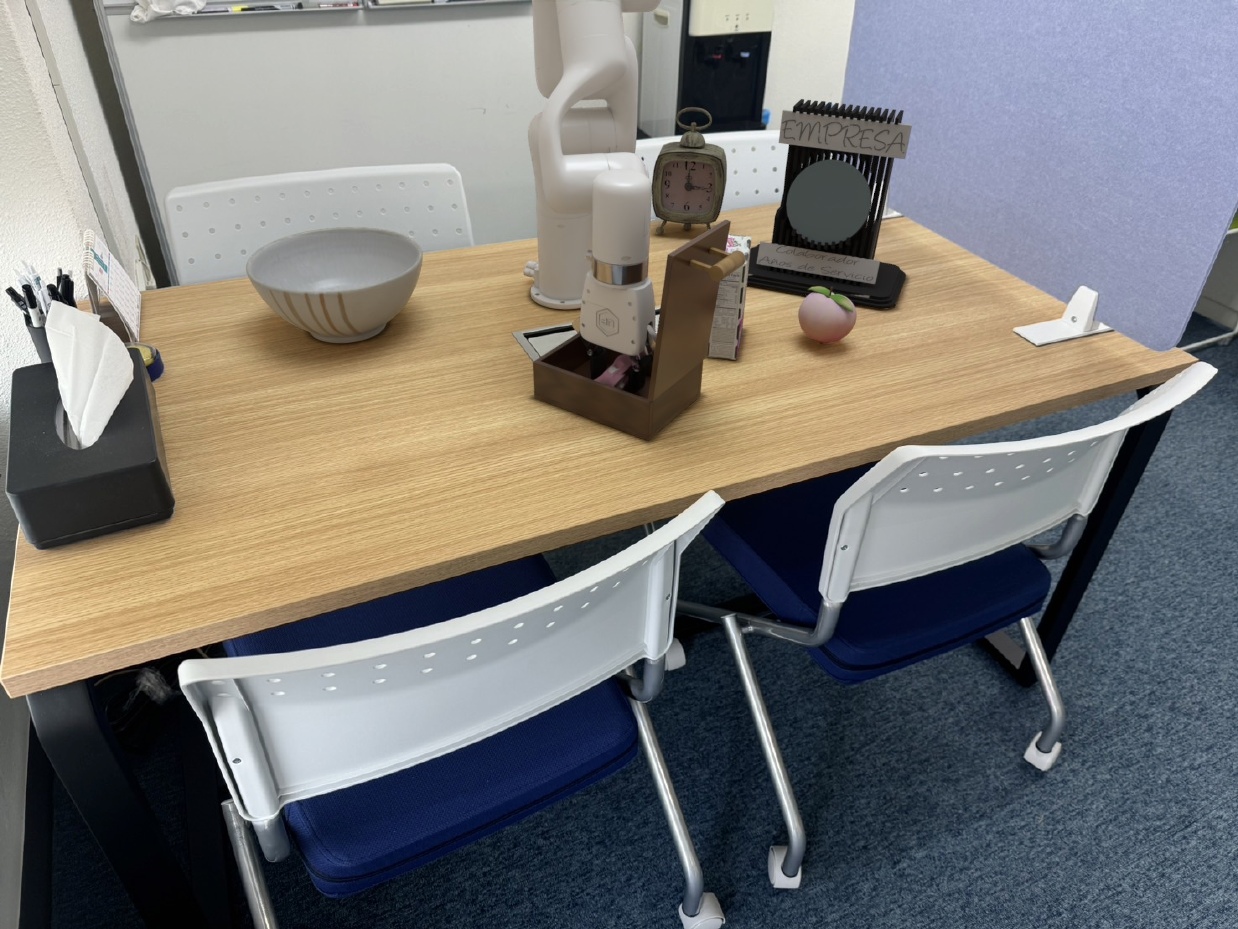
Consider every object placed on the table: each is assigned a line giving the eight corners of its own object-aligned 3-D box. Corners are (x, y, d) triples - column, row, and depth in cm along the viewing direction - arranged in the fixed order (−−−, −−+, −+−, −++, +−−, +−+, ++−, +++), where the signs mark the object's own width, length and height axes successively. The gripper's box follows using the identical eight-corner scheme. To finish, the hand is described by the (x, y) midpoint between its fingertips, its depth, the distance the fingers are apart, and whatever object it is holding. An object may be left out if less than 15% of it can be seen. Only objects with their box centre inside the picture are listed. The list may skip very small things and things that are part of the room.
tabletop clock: (649, 237, 179) (654, 110, 164) (655, 222, 186) (660, 99, 171) (719, 243, 177) (731, 115, 162) (722, 227, 184) (733, 103, 170)
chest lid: (667, 254, 101) (709, 269, 99) (725, 219, 111) (764, 232, 109) (647, 399, 114) (684, 415, 111) (701, 356, 124) (736, 370, 121)
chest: (534, 398, 126) (532, 361, 122) (591, 358, 136) (591, 324, 132) (648, 441, 117) (650, 403, 114) (700, 395, 127) (703, 359, 124)
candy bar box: (713, 327, 146) (721, 232, 136) (742, 330, 145) (753, 235, 135) (705, 358, 137) (713, 259, 127) (736, 361, 136) (747, 262, 126)
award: (726, 282, 161) (742, 113, 143) (752, 248, 175) (771, 90, 157) (892, 312, 151) (932, 136, 134) (907, 273, 166) (944, 109, 148)
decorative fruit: (782, 343, 141) (790, 286, 136) (809, 327, 146) (819, 271, 140) (832, 362, 136) (843, 304, 130) (858, 345, 141) (870, 288, 135)
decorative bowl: (303, 383, 128) (286, 308, 121) (238, 319, 144) (220, 250, 137) (460, 333, 142) (453, 263, 135) (384, 280, 159) (375, 215, 151)
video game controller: (602, 414, 123) (622, 382, 118) (579, 393, 124) (597, 361, 119) (639, 384, 130) (659, 354, 125) (616, 365, 131) (635, 333, 126)
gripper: (551, 260, 116) (554, 376, 127) (660, 293, 109) (654, 414, 119) (583, 243, 121) (583, 356, 132) (690, 273, 114) (681, 390, 125)
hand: (617, 382), depth 126 cm, fingers closed on video game controller, 5 cm apart
